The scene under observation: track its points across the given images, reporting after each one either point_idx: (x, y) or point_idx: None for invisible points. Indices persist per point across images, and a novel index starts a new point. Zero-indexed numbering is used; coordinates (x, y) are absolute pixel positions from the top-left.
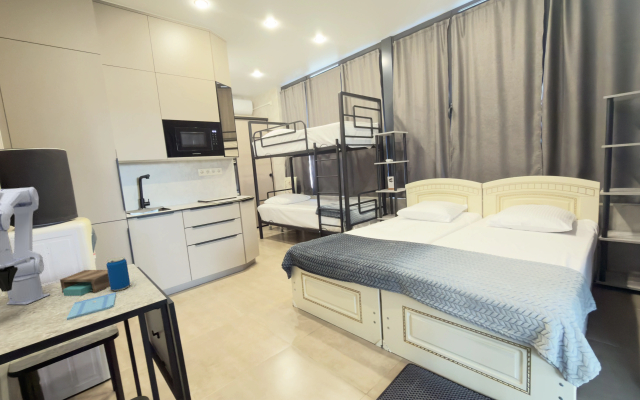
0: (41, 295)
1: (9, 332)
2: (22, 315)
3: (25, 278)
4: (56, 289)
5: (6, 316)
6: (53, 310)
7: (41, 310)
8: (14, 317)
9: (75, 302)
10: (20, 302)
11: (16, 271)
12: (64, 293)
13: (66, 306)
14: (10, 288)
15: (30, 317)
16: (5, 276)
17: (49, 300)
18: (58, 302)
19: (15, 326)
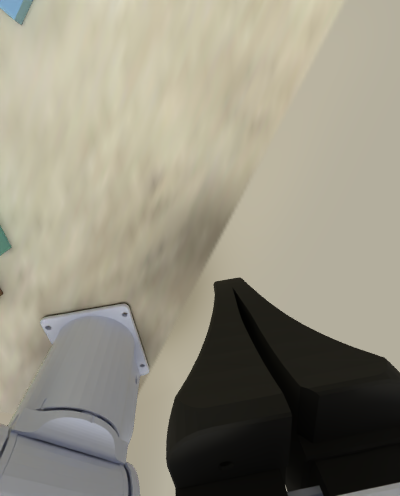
0: (67, 325)
1: (305, 49)
2: (186, 205)
3: (75, 418)
4: (6, 354)
5: (204, 263)
6: (114, 91)
7: (134, 169)
8: (204, 219)
9: (10, 16)
10: (130, 333)
11: (189, 381)
12: (1, 247)
13: (59, 60)
14: (223, 284)
15: (190, 135)
16: (297, 347)
17: (67, 258)
18: (57, 184)
19: (260, 99)
